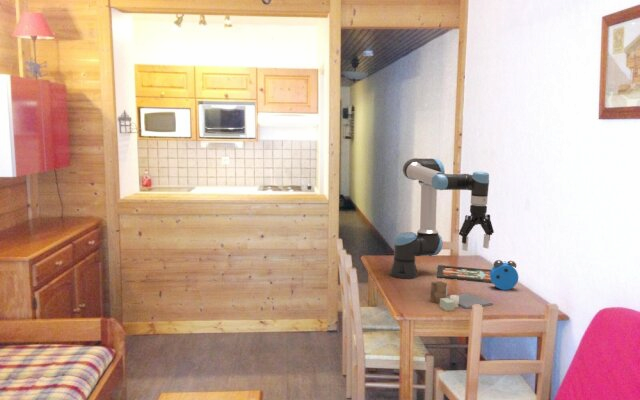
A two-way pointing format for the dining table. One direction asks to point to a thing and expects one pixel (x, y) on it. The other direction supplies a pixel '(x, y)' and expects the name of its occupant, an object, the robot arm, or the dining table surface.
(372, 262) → the dining table surface
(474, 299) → the grey mat
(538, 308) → the dining table surface
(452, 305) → the sage block
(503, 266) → the alarm clock
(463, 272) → the painting
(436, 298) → the walnut block
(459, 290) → the dining table surface
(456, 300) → the cream cylinder
